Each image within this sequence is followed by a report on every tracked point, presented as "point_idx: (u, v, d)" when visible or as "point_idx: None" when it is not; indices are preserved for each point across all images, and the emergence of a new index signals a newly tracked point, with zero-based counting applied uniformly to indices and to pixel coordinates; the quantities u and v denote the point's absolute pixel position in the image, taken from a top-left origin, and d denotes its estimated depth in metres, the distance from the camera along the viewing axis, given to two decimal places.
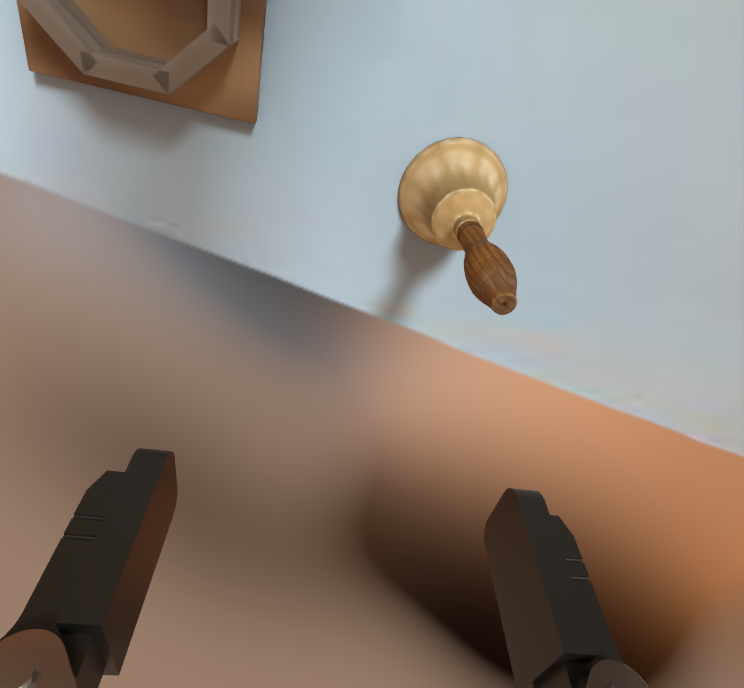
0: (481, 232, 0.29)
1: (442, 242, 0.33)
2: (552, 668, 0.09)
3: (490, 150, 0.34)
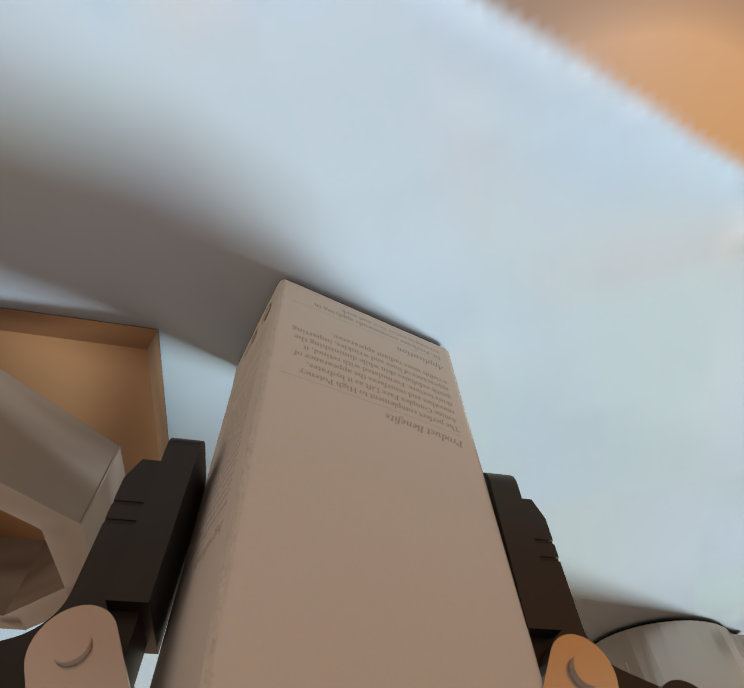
0: None
1: None
2: None
3: None
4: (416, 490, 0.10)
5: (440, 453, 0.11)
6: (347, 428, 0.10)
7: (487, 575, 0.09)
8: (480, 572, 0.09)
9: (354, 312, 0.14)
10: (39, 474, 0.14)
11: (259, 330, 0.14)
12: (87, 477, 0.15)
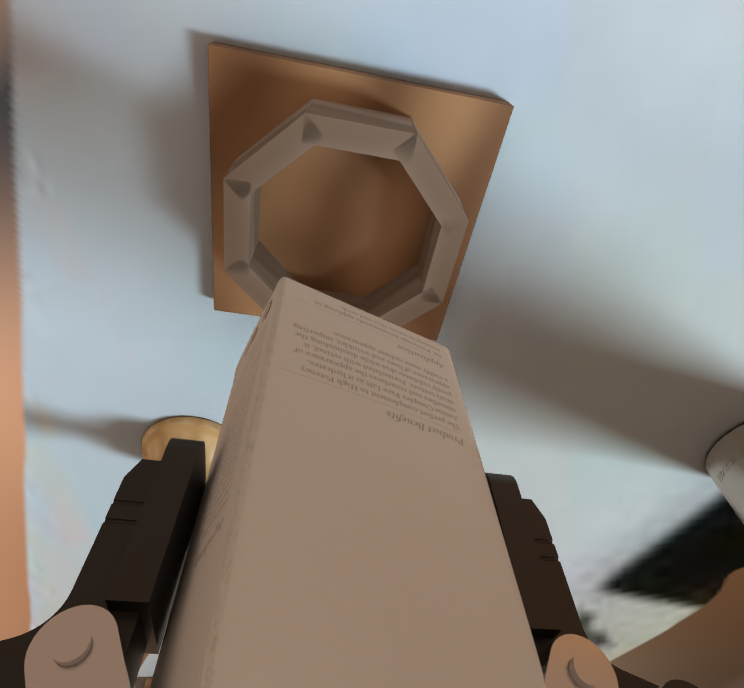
0: None
1: None
2: None
3: None
4: (417, 488, 0.10)
5: (441, 451, 0.11)
6: (348, 425, 0.10)
7: (489, 573, 0.09)
8: (482, 570, 0.09)
9: (355, 310, 0.14)
10: (448, 184, 0.22)
11: (259, 328, 0.13)
12: (459, 201, 0.24)
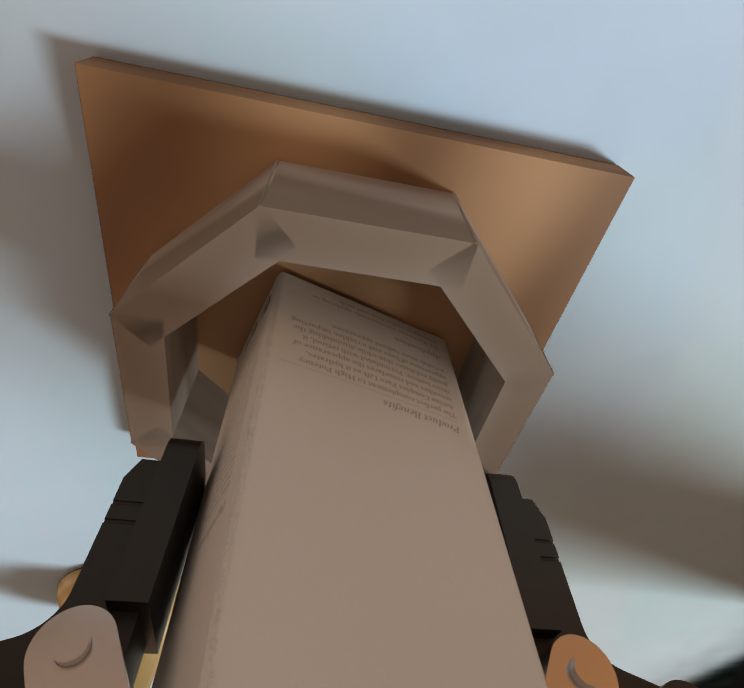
0: None
1: None
2: None
3: None
4: (413, 472, 0.10)
5: (437, 438, 0.11)
6: (346, 413, 0.10)
7: (483, 553, 0.09)
8: (476, 551, 0.09)
9: (352, 304, 0.14)
10: (520, 314, 0.13)
11: (259, 322, 0.14)
12: (531, 331, 0.14)
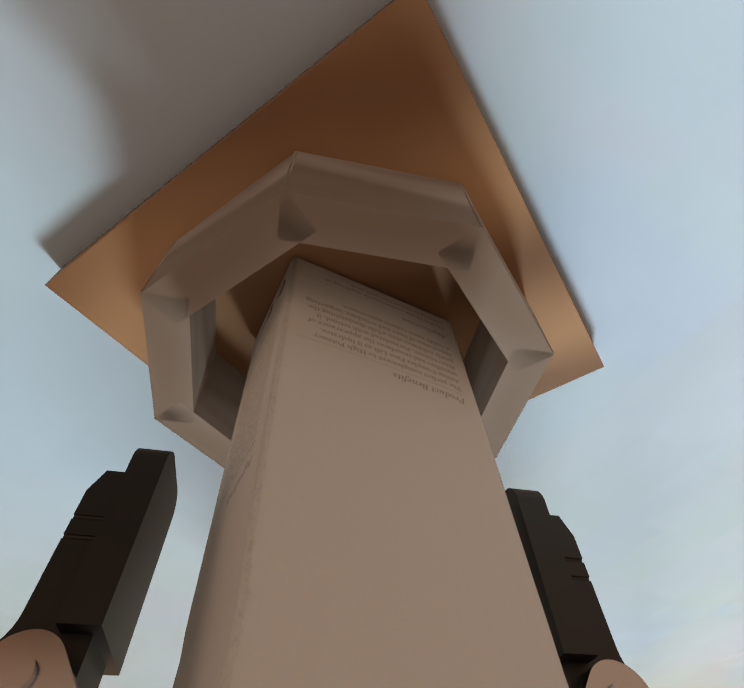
0: None
1: None
2: None
3: None
4: (422, 436, 0.11)
5: (444, 408, 0.12)
6: (358, 383, 0.11)
7: (487, 507, 0.10)
8: (481, 505, 0.10)
9: (361, 287, 0.15)
10: None
11: (274, 305, 0.15)
12: None
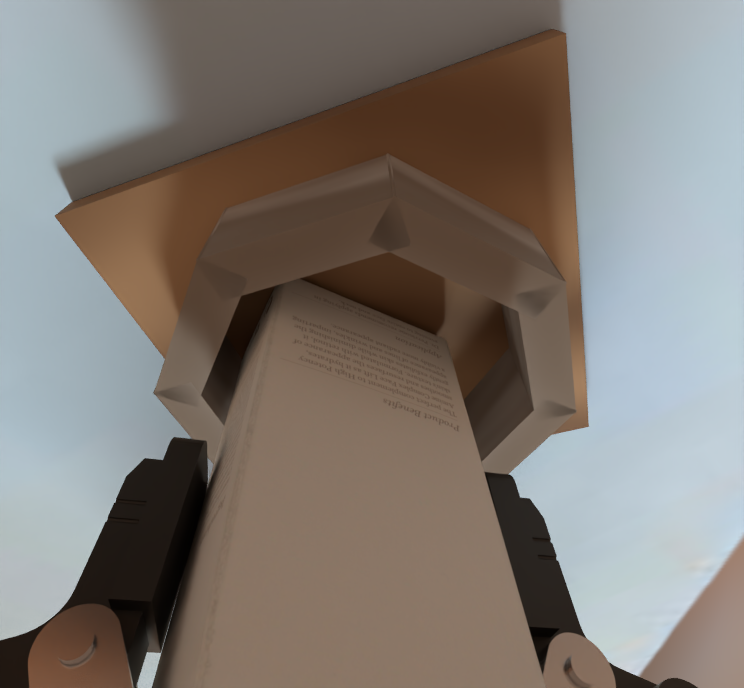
0: None
1: None
2: None
3: None
4: (412, 470, 0.10)
5: (436, 436, 0.12)
6: (345, 411, 0.11)
7: (481, 549, 0.09)
8: (475, 547, 0.09)
9: (353, 304, 0.15)
10: None
11: (261, 322, 0.14)
12: None
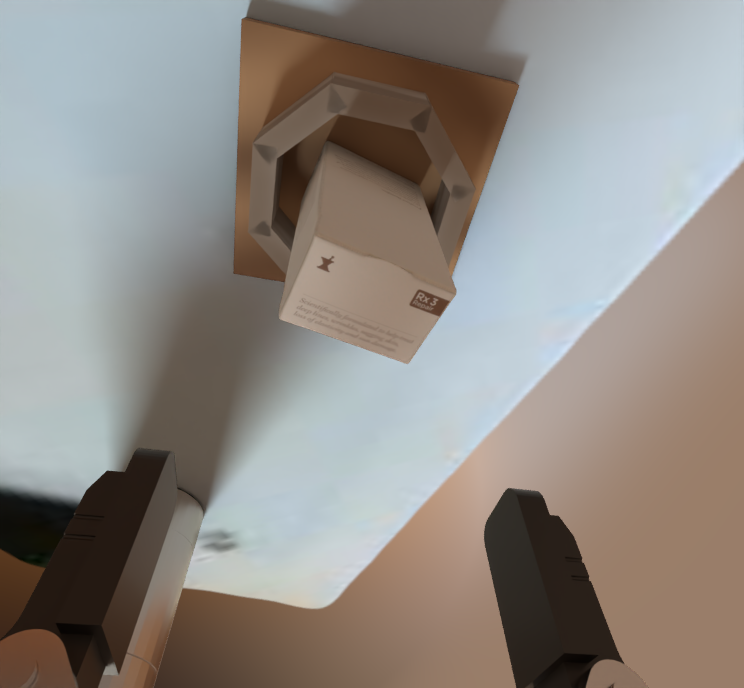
0: None
1: None
2: (552, 668, 0.09)
3: None
4: (395, 209, 0.22)
5: (409, 206, 0.23)
6: (363, 186, 0.22)
7: (426, 235, 0.21)
8: (423, 234, 0.21)
9: (365, 159, 0.26)
10: None
11: (316, 167, 0.26)
12: None
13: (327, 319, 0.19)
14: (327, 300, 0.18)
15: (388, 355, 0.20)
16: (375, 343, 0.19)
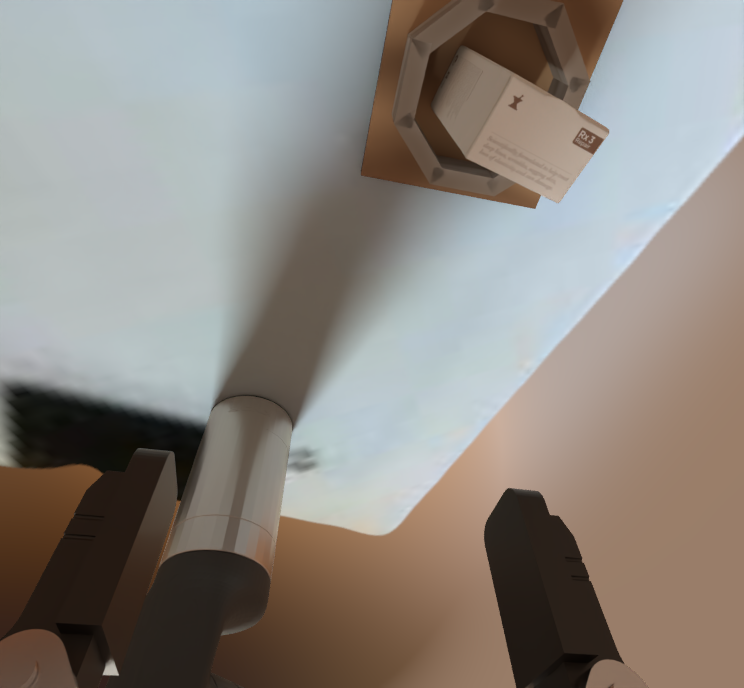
0: None
1: None
2: (552, 668, 0.09)
3: None
4: None
5: None
6: None
7: None
8: None
9: None
10: None
11: (452, 67, 0.31)
12: None
13: (505, 157, 0.23)
14: (509, 138, 0.23)
15: (545, 194, 0.25)
16: (538, 180, 0.24)
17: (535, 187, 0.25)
